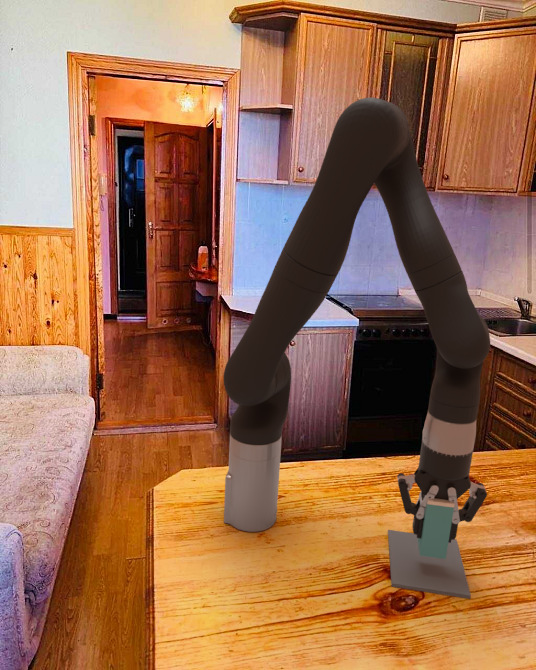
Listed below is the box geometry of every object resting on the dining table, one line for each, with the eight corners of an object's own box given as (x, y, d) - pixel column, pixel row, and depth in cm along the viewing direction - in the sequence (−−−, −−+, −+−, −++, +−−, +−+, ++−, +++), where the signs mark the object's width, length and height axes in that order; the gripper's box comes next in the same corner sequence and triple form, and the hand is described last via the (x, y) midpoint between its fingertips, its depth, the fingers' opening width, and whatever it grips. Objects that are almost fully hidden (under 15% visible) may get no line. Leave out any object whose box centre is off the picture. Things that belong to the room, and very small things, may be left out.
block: (419, 555, 90) (427, 500, 87) (417, 539, 94) (425, 486, 91) (445, 559, 90) (454, 504, 87) (442, 543, 93) (450, 490, 90)
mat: (391, 586, 89) (391, 583, 89) (387, 532, 103) (388, 529, 102) (470, 598, 88) (470, 595, 87) (456, 542, 101) (456, 539, 101)
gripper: (401, 447, 84) (389, 545, 89) (502, 459, 82) (483, 559, 87) (398, 425, 91) (387, 517, 96) (491, 435, 89) (474, 529, 94)
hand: (433, 537), depth 91 cm, fingers closed on block, 4 cm apart
